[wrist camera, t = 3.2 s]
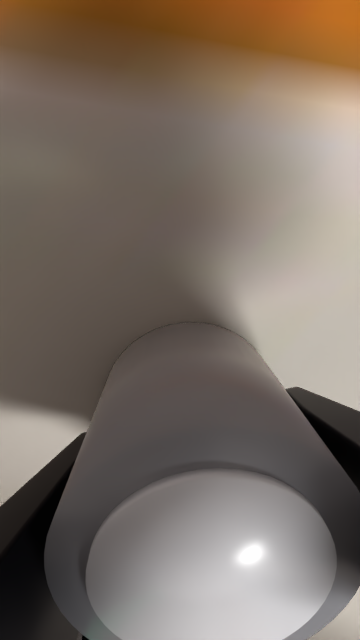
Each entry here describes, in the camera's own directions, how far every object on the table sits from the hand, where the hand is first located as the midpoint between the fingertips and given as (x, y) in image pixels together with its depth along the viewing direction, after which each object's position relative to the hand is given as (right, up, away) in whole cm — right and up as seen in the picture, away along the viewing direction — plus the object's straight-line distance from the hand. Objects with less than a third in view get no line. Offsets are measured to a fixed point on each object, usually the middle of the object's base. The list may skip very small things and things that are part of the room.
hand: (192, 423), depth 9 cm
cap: (0, 0, +1) cm, 1 cm away
